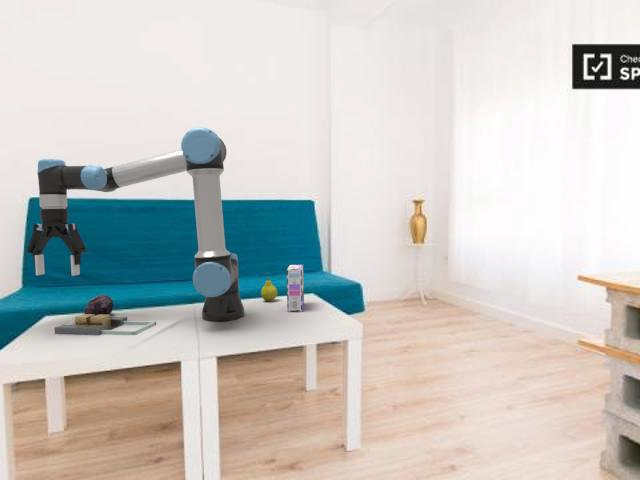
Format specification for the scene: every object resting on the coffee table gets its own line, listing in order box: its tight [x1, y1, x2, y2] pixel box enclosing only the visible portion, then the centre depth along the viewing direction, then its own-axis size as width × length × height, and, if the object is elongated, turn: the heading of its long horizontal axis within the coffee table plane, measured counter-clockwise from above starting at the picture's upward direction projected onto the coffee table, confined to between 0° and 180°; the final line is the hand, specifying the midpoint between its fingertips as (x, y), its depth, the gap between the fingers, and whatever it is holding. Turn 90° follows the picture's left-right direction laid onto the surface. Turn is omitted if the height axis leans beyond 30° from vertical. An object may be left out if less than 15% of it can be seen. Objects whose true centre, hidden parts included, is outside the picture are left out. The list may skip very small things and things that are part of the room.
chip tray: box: [101, 320, 157, 336], centre depth 131 cm, size 11×12×2 cm
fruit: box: [260, 273, 278, 302], centre depth 176 cm, size 7×7×12 cm
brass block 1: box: [74, 313, 95, 325], centre depth 133 cm, size 4×4×4 cm
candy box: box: [286, 264, 305, 313], centre depth 162 cm, size 14×6×16 cm, turn 179°
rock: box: [83, 294, 115, 316], centre depth 149 cm, size 12×9×10 cm
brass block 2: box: [90, 314, 111, 329], centre depth 132 cm, size 4×4×4 cm
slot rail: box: [54, 316, 128, 336], centre depth 133 cm, size 15×14×4 cm
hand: (57, 274), depth 134 cm, fingers open, 12 cm apart
